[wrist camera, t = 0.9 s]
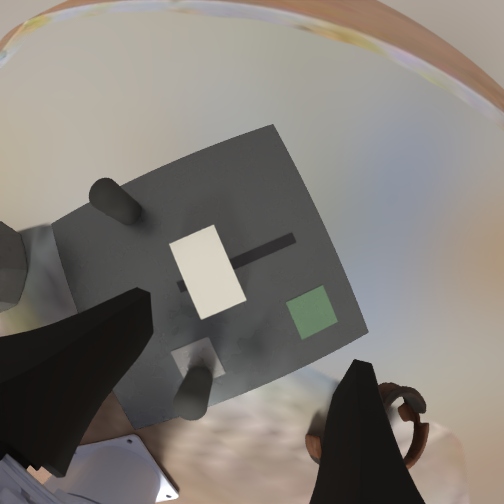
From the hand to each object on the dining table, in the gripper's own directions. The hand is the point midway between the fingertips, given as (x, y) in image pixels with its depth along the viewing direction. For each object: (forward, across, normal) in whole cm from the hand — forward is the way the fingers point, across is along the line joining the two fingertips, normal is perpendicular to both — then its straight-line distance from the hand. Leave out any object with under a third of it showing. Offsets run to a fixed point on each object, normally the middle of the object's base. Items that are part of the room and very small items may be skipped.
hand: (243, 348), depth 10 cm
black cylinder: (+10, +12, +2) cm, 16 cm away
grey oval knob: (+5, +4, +11) cm, 13 cm away
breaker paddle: (+10, +5, +5) cm, 12 cm away
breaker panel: (+11, +6, +6) cm, 14 cm away
